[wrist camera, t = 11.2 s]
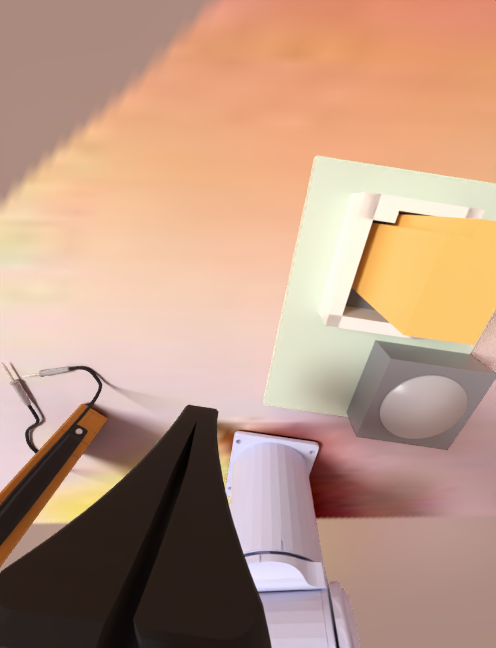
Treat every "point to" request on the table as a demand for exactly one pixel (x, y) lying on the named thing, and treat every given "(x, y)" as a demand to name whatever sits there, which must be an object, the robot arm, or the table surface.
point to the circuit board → (312, 275)
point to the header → (363, 210)
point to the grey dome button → (417, 394)
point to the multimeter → (44, 465)
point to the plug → (431, 275)
